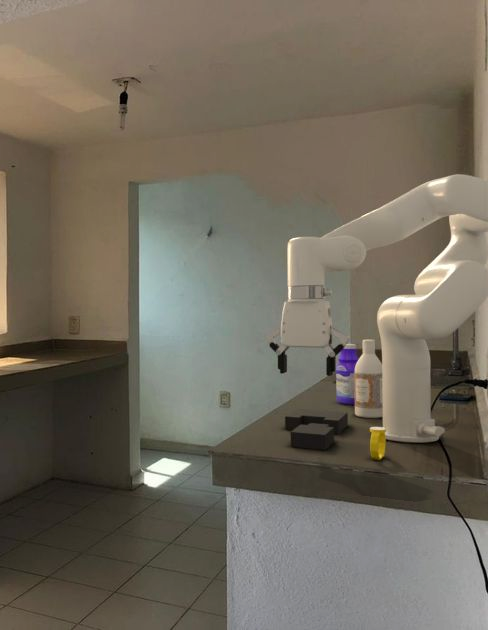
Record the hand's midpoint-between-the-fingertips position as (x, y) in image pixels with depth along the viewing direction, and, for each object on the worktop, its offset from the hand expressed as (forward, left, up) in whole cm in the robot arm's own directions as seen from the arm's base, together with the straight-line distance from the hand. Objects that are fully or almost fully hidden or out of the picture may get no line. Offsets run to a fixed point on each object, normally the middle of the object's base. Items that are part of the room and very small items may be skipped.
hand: (306, 374), depth 140 cm
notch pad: (+13, -13, -15) cm, 24 cm away
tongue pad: (0, -1, -15) cm, 15 cm away
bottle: (+37, -45, -15) cm, 60 cm away
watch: (-16, -3, -15) cm, 23 cm away
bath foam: (+19, -35, -15) cm, 43 cm away
